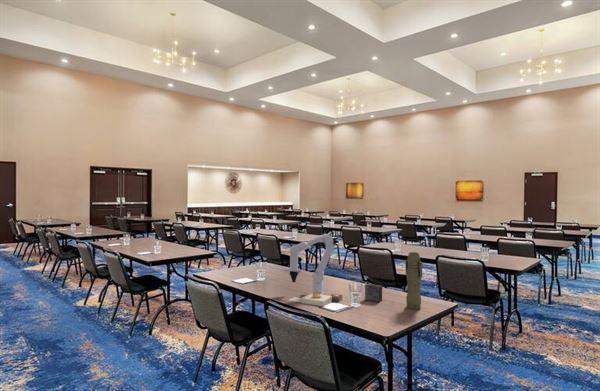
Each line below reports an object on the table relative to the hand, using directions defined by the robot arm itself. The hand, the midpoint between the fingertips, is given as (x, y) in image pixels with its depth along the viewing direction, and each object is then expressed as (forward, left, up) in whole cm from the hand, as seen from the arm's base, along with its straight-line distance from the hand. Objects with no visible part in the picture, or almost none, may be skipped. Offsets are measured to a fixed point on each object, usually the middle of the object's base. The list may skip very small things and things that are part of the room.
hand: (293, 282), depth 259 cm
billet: (+8, +22, -8) cm, 25 cm away
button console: (-3, +31, -9) cm, 33 cm away
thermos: (-12, +81, -10) cm, 82 cm away
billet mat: (+10, +8, -9) cm, 16 cm away
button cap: (-3, +31, -9) cm, 32 cm away
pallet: (+8, +22, -9) cm, 25 cm away
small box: (-15, +54, -10) cm, 57 cm away
